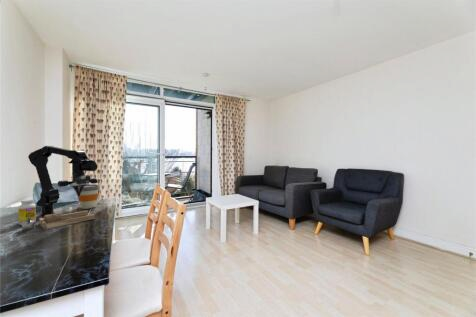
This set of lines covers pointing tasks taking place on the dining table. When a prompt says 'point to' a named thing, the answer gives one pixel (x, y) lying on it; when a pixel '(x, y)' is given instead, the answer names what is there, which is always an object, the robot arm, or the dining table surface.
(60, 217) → the cardboard box
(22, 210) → the supplement bottle
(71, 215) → the bay
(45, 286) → the dining table surface
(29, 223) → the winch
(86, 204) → the reusable coffee cup
